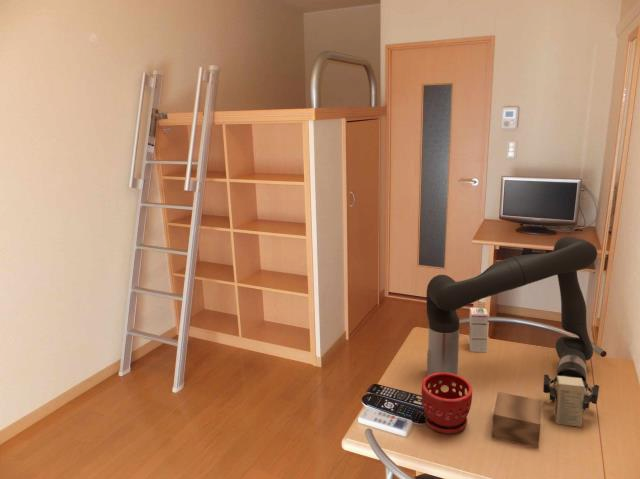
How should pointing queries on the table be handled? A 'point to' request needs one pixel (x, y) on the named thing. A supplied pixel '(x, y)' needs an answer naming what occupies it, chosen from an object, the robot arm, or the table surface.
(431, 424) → the plant pot
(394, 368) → the table surface
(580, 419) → the skincare box
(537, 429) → the walnut block
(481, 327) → the syrup box
